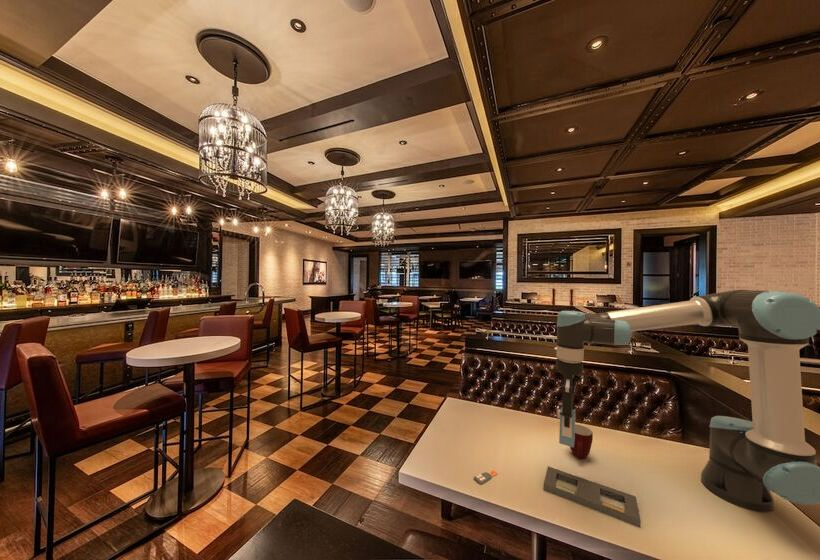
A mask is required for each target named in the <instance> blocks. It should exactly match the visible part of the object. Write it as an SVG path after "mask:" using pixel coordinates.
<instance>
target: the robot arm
mask: <svg viewBox="0 0 820 560" xmlns="http://www.w3.org/2000/svg"><path fill="white" fill-rule="evenodd" d="M697 324H698V325H699V326H702V327H712V326H722V327H723V326H724V327H732V328H737V329H738V337H739V338H738V339H739V340H740V341H742V342H743V343H745V344H746V345H747V353H748V369H749V385H750V386H749V387H750V401H751V402H750V403H751V417H752V421H750V420H746V419H743V418H738V417H732V416H727V415H726V416H725V415H715V416H713V417H711V419H710V422H709V423H710V424H709V453H708V455H709V456H708V457H709V458H708V460H707V462H706V464H705V466H704V468H703V469H702V470H701V474H700V481H701V483H702V485H703V486H704V487H705V488H706V489H707V490H709V491H710V492H711V493H712V494H714V495H715V496H717V497H719V498H721V499H722V500H725V501H727V502H728V503H732V504H733V505H736V506H738V507H741V508H744V509H747V510H751V511H756V512H762V513H763V512H764V513H765V512H766V513H768V512H769V513H770V512H772V511H773V510H774V507H775V499H774V497H773V495H772V493H774V494H776V495H777V496H779V497H781V498H782V499H783V500H786V501H788V502H790V503H793V504H797V505H804V506H806V505H807V506H809V505H817V504H820V466H818V464H817V463H818V462H817V451H816V449H815V448H814V447H813V446H812V445H810V444H809V443H808V442H806V435H805V434H806V433H805V421H804V420H805V419H804V418H805V417H804V406H803V404H804V403H803V391H802V390H803V389H802V373H801V371H802V370H801V360H800V359H801V358H800V350H801V349H803V348H804V347H806V346H809V342H810V341H809V339H810V338H811V337H814V336H815V335H816V334H818V332H817V331H820V307H819V306H818V305H817V304H816V303H815V302H814V301H813V300H811V299H810V298H808V297H806V296H804V295H802V294H798V293H794V292H788V291H787V292H786V291H782V290H751V289H735V290H734V289H733V290H728V291H722V292H716V293H710V294H705V295H699V296H693V297H691V298H690V299H689V300H685V301H678V302H670V303H662V304H658V305H657V304H655V305H649V306H642V307H635V308H627V309H620V310H611V311H606V312H598V313H593V312H592V313H591V312H585V313H584V312H583V311H576V310H575V311H573V310H561V311H559V312H558V314H557V323H556V347H554V349H553V350H554V351H556V355H555V356H556V357H557V358H556V359H555V370H556V371H557V372H559V373H561V374H563V375H561V379H560V381H561V392H562V403H561V407H562V413H561V412H560V415H562V435H563V436H566V437H569V438H572V410H575V411H576V410H577V408H576V406H574V405H575V403H574V395H575V391H576V385H577V377H578V376H581V375H583V373H584V363H583V361H584V359H585V358H584V355H585V354H584V353H585V350H584V347H585V346H584V344H585V343H588V344H589V343H590V344H599V345H600V344H601V345H603V344H604V345H613V346H626V345H628V344H629V343H630V342H631V339H632V332H637V331H639V332H640V331H647V330H655V329H656V330H657V329H665V328H672V327H673V328H674V327H682V326H683V327H684V326H691V325H697ZM576 376H577V377H576Z"/></svg>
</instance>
